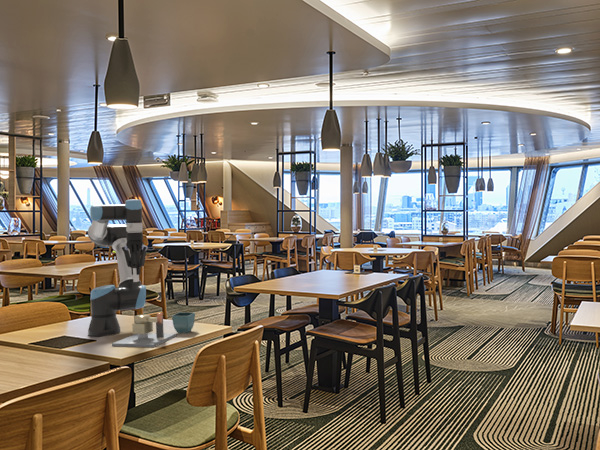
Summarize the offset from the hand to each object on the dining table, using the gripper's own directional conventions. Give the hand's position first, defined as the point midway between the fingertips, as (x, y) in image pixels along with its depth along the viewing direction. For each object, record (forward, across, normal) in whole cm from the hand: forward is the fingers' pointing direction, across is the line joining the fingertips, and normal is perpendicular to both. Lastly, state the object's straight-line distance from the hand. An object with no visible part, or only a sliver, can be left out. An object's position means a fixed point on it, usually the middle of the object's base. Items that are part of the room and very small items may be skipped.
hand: (136, 281), depth 265 cm
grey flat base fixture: (+26, +8, -8) cm, 29 cm away
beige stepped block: (+22, +11, -8) cm, 26 cm away
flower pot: (+27, +18, +12) cm, 34 cm away
